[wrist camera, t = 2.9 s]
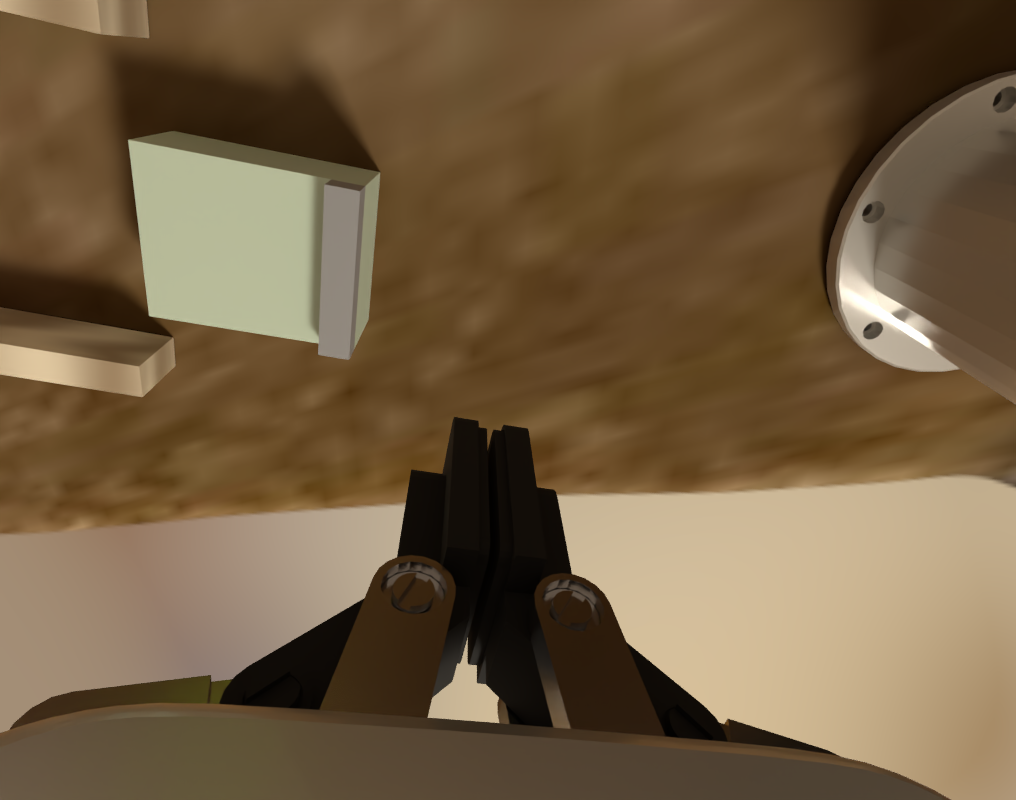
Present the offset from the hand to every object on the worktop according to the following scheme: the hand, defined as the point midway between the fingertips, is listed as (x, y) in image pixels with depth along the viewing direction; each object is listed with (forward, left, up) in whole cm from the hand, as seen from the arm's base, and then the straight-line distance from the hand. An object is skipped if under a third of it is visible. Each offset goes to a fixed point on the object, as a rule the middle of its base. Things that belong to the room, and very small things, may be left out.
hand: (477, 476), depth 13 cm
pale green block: (+9, 0, -15) cm, 17 cm away
